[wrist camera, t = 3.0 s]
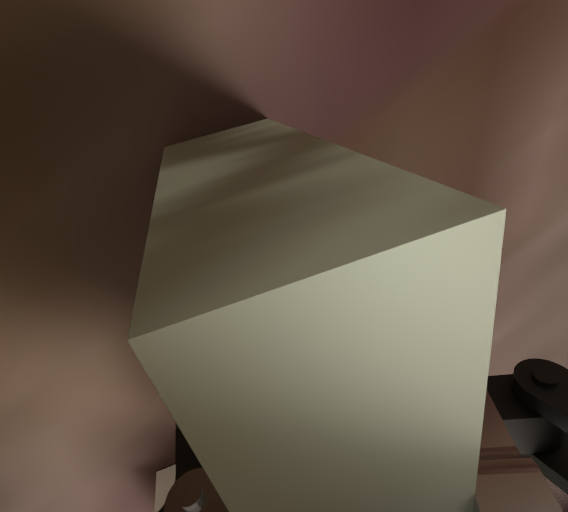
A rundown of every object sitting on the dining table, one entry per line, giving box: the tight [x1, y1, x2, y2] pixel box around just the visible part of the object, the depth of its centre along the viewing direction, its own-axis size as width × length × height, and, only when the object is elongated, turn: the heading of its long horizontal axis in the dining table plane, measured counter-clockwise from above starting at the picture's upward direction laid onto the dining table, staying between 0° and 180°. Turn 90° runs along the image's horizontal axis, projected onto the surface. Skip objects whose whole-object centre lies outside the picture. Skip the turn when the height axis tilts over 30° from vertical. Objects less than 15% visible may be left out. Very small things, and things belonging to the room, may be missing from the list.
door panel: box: [127, 119, 506, 512], centre depth 11 cm, size 4×14×10 cm, turn 13°
